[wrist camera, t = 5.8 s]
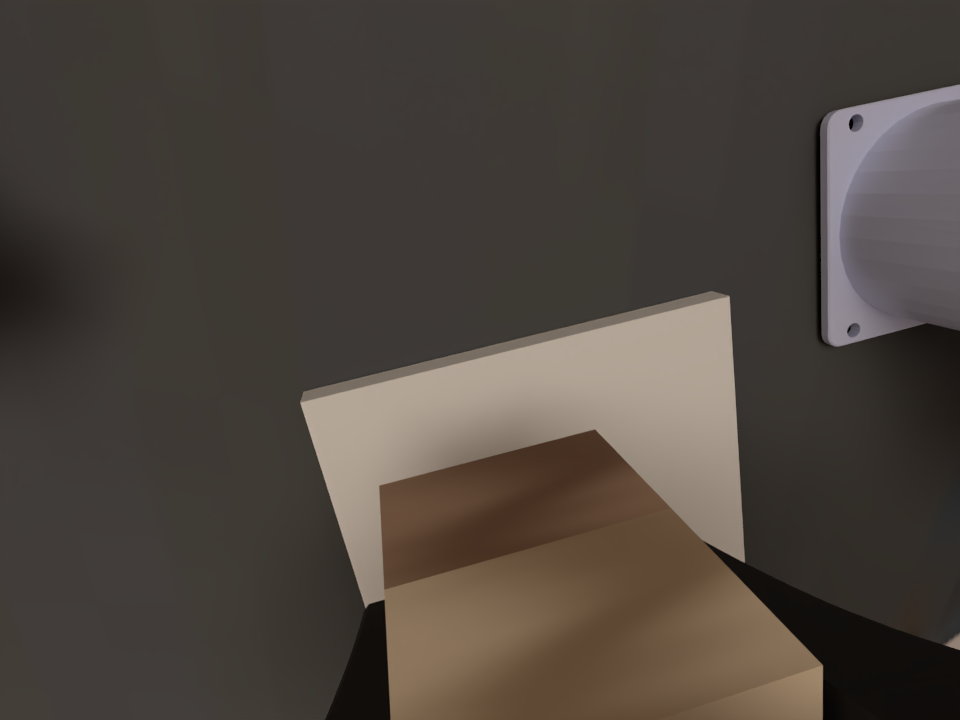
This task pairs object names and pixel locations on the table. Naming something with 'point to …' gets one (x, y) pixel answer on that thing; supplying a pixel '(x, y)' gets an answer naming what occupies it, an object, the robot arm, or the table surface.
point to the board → (546, 417)
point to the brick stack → (572, 600)
